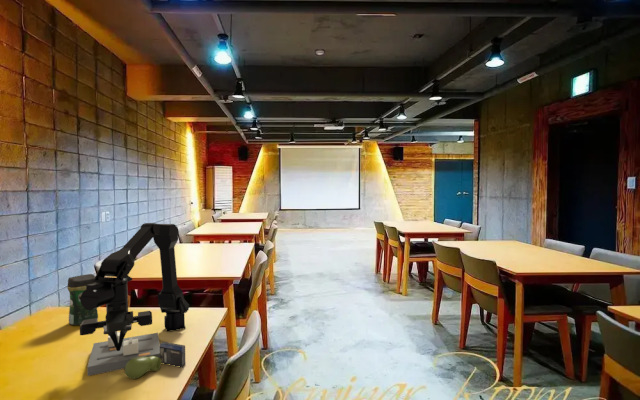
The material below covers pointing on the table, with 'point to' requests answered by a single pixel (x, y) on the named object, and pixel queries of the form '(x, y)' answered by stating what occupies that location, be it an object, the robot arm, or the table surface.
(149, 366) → the pear
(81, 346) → the table surface
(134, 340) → the tab
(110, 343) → the tab
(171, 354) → the mini dv tape
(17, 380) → the table surface
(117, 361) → the switch panel
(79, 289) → the coffee jar
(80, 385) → the table surface
